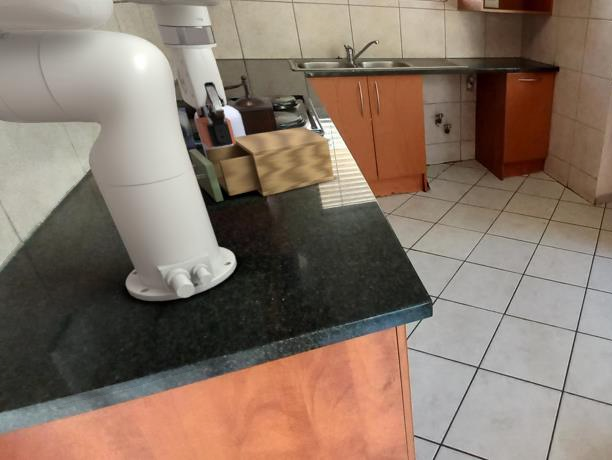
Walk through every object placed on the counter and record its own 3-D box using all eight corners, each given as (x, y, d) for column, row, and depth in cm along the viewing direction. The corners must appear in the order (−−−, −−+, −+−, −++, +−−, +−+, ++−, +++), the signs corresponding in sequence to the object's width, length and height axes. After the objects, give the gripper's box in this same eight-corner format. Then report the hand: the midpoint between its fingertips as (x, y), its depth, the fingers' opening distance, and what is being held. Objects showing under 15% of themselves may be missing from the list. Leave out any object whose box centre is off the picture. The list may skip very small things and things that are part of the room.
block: (209, 147, 78) (201, 123, 76) (202, 142, 81) (194, 118, 78) (236, 143, 81) (229, 119, 79) (228, 138, 84) (222, 115, 81)
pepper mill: (277, 131, 123) (263, 65, 114) (281, 142, 115) (266, 71, 106) (214, 136, 116) (194, 66, 107) (213, 148, 108) (191, 73, 99)
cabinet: (263, 196, 84) (252, 152, 80) (242, 179, 91) (231, 137, 87) (334, 179, 94) (327, 139, 90) (310, 164, 101) (303, 126, 97)
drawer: (183, 209, 76) (169, 171, 72) (168, 191, 82) (155, 155, 79) (290, 184, 88) (283, 150, 84) (270, 170, 94) (263, 137, 91)
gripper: (150, 33, 74) (183, 135, 83) (174, 42, 65) (209, 157, 73) (200, 32, 79) (226, 129, 88) (229, 41, 69) (256, 149, 78)
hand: (218, 140), depth 81 cm, fingers closed on block, 4 cm apart
